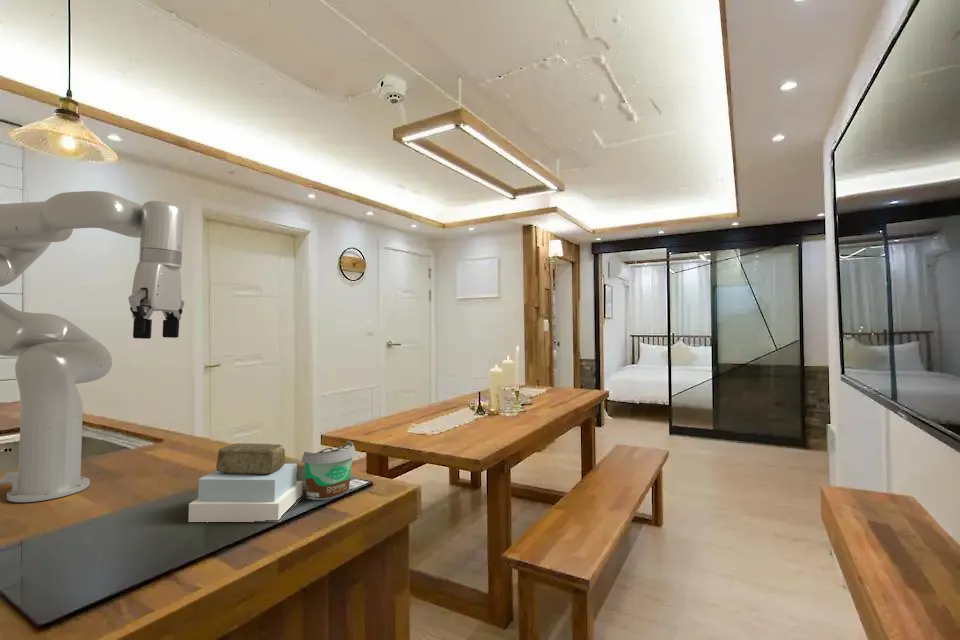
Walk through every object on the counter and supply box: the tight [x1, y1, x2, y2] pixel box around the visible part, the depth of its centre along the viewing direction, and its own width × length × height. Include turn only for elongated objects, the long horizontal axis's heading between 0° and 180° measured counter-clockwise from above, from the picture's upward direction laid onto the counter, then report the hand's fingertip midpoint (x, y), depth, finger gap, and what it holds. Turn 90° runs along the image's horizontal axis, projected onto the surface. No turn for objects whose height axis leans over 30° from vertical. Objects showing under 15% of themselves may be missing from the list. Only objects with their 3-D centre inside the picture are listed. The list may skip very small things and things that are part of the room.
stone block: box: [215, 442, 286, 474], centre depth 87 cm, size 6×12×5 cm, turn 88°
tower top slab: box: [197, 463, 298, 502], centre depth 87 cm, size 14×10×4 cm
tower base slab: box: [187, 480, 303, 524], centre depth 86 cm, size 16×12×4 cm
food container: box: [301, 440, 356, 498], centre depth 94 cm, size 12×6×10 cm, turn 148°
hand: (156, 337), depth 96 cm, fingers open, 9 cm apart
